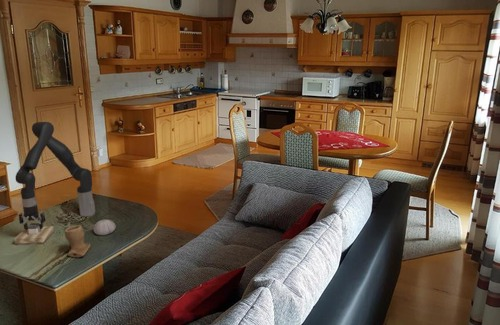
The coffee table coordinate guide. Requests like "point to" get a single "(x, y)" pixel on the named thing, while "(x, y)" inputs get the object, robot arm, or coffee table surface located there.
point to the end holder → (34, 236)
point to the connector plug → (34, 229)
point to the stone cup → (76, 241)
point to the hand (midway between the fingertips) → (33, 229)
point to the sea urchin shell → (104, 227)
